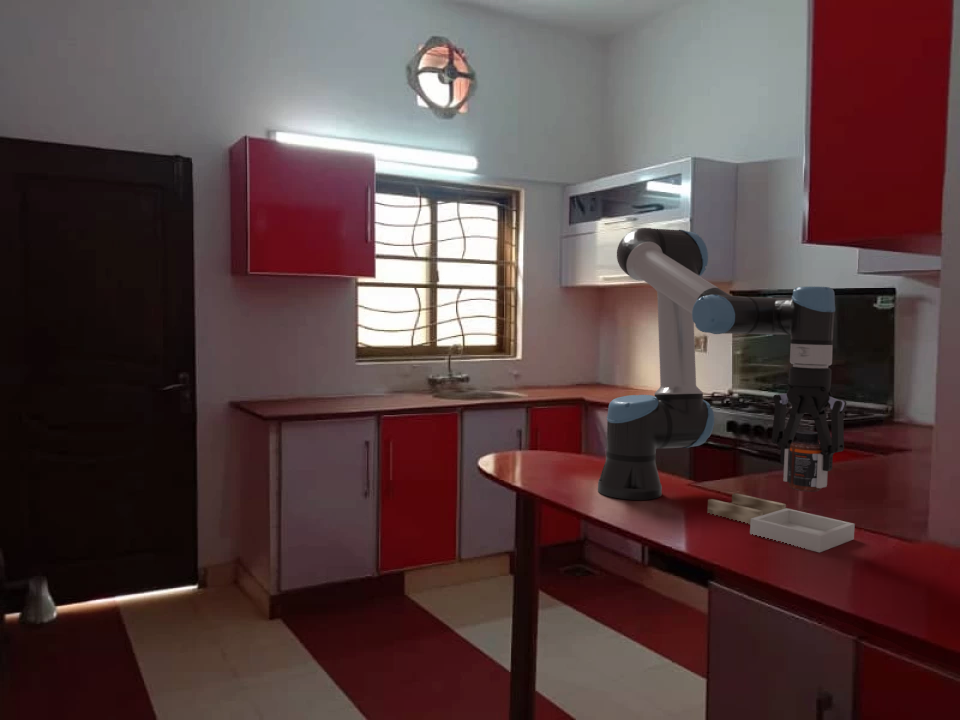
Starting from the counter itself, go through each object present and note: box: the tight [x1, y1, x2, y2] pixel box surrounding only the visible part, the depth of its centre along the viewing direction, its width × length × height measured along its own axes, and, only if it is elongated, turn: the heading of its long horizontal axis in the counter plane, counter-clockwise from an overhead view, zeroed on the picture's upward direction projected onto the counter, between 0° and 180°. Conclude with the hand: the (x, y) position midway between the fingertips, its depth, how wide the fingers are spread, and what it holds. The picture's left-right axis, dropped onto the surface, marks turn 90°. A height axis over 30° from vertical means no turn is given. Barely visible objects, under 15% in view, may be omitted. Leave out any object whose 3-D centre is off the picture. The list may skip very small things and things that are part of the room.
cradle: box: [707, 492, 787, 525], centre depth 161 cm, size 12×11×3 cm
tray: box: [749, 507, 855, 553], centre depth 146 cm, size 14×14×3 cm
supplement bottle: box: [787, 430, 822, 493], centre depth 145 cm, size 6×6×11 cm
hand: (804, 483), depth 146 cm, fingers closed on supplement bottle, 6 cm apart
